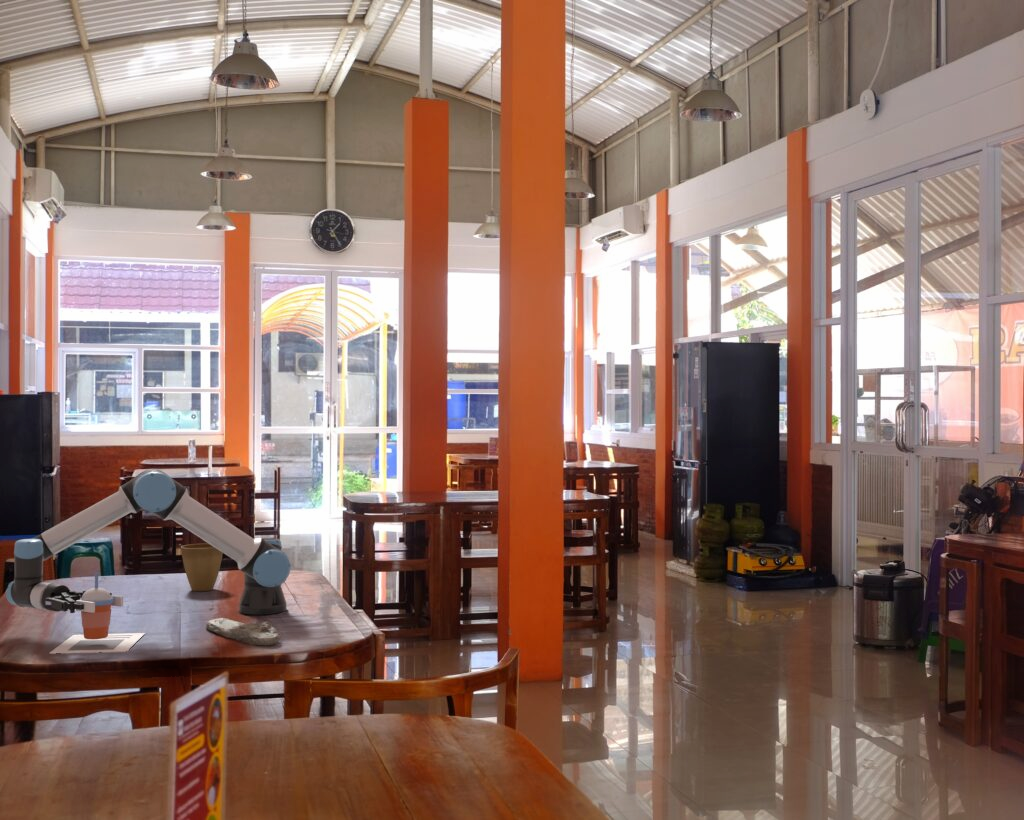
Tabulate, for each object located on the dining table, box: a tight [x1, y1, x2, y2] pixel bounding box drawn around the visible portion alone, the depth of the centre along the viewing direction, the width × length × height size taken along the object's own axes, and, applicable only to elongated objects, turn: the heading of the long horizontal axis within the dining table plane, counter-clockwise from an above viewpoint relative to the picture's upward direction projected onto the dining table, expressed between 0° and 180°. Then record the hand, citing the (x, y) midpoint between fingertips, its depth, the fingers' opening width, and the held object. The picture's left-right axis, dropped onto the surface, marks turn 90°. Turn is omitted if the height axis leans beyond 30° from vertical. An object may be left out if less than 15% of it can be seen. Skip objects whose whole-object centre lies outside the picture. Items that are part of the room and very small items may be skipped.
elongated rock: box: [205, 617, 281, 646], centre depth 303 cm, size 35×5×10 cm
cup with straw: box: [80, 571, 114, 639], centre depth 289 cm, size 9×9×18 cm
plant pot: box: [180, 543, 224, 592], centre depth 377 cm, size 15×15×16 cm
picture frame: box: [49, 632, 146, 655], centre depth 292 cm, size 20×22×1 cm
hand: (108, 604), depth 287 cm, fingers closed on cup with straw, 9 cm apart
